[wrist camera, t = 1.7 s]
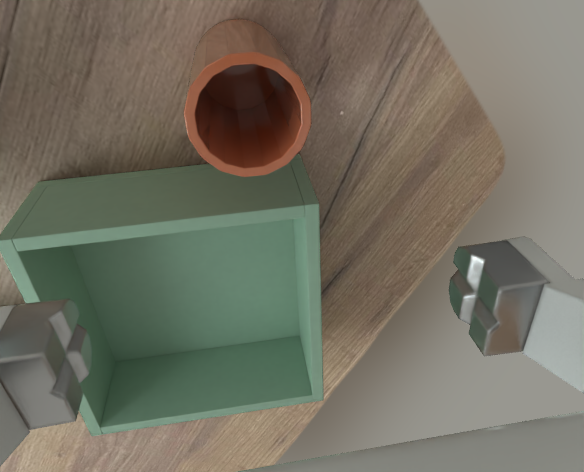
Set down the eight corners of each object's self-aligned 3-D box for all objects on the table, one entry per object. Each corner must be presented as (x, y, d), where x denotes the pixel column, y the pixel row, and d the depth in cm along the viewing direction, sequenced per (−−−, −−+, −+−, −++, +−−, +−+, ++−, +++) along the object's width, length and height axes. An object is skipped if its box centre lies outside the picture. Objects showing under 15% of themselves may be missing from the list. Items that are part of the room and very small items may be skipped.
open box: (299, 153, 30) (319, 203, 24) (307, 333, 39) (323, 400, 34) (37, 181, 29) (-6, 241, 23) (109, 362, 38) (91, 436, 32)
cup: (281, 15, 25) (309, 47, 18) (287, 108, 28) (313, 170, 21) (185, 22, 25) (173, 58, 18) (201, 117, 28) (196, 182, 20)
